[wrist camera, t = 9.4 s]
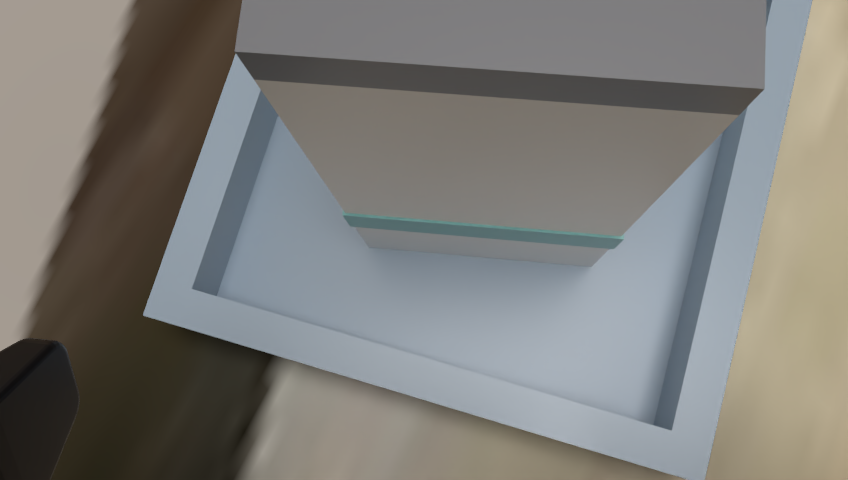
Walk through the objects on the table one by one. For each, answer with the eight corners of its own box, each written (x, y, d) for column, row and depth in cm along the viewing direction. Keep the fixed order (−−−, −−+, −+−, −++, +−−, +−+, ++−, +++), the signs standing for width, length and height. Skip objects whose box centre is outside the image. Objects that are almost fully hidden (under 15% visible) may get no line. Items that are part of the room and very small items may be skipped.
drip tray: (674, 473, 17) (703, 484, 15) (180, 324, 18) (143, 315, 16) (784, -4, 19) (824, -54, 17) (331, -110, 20) (314, -169, 18)
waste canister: (593, 269, 18) (769, 95, 7) (366, 249, 18) (229, 55, 8) (606, 54, 19) (779, -371, 8) (390, 39, 19) (296, -385, 9)
